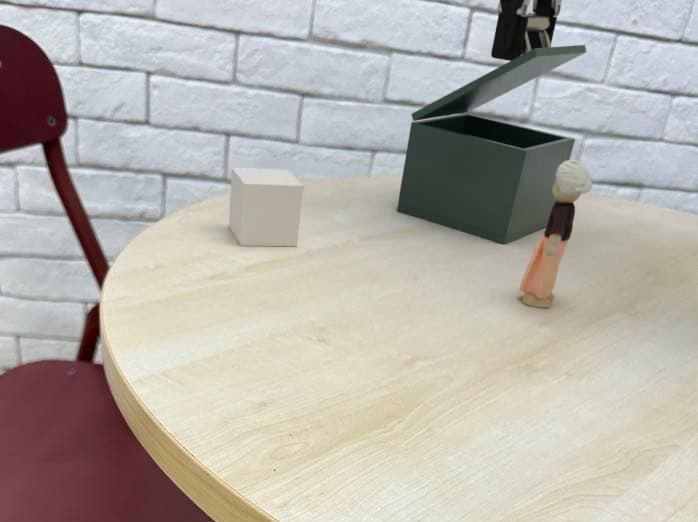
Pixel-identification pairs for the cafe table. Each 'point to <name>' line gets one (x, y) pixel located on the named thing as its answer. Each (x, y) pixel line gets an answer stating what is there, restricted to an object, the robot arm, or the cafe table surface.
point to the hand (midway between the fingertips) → (520, 56)
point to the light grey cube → (265, 207)
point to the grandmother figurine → (555, 234)
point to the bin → (481, 175)
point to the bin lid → (505, 73)
